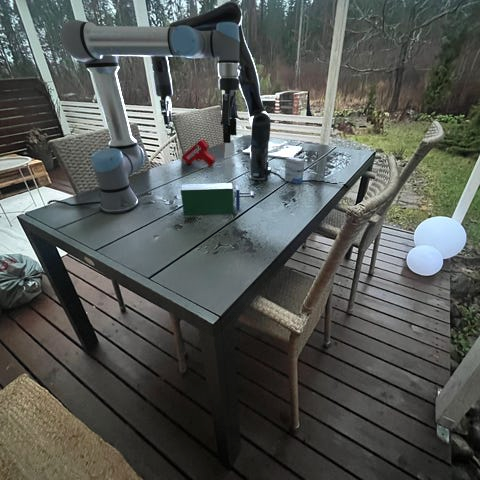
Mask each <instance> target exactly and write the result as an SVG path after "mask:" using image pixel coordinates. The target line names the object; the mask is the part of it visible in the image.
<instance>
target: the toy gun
mask: <svg viewBox="0 0 480 480" xmlns="http://www.w3.org/2000/svg"><path fill="white" fill-rule="evenodd" d="M209 148H210V145H209V144H208V142H207V141H206V140H205V139H204V138H202V139H200V140H198V141H197V142H196V143H195V144H194V145H193V146H192V147H190V149H188V150H187V151H186V152H185V153H184V154H183V155H181V158H182V159H183V161H184V162H185V164H186V165H189V164H191V163H193V162H194V161H195V160H196V162H200V161H204V162H205V163H206V164H207V165H208V167H210V166H212V165H214V164H215V163H216V162H215V161H216V158H215V156H213V155H212V154H210V153H209V152H208V149H209Z"/></svg>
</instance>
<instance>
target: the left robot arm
mask: <svg viewBox="0 0 480 480" xmlns="http://www.w3.org/2000/svg"><path fill="white" fill-rule="evenodd" d="M60 41H61V44H62V47H63V48H64V49H65V51H66V52H67V54H69V55H70V56H71V57H72V58H73V59H75V60H77V61H79V62H83V63H84V65H85V68H86V70H87V71H88V72H89V73H91V75H92V77H93V81H94V84H95V88H96V91H97V95H98V98H99V102H100V106H101V108H102V112H103V116H104V119H105V124H106V126H107V130H108V133H109V137H110V141H109V142H108V148H104V149H100V150H98V151H96V152H94V153H93V154H92V156H91V164H92V168H93V169H92V170H93V171H94V174H95V177H96V180H97V183H98V187H99V190H100V200H99V201H89V202H80V203H69V202H68V201H63V200H58V199H51V200H49V201H47V203H46V204H47V205H50V204H51V203H59V204H65V205H67V206H69V207H79V206H86V205H87V206H88V205H96V204H97V205H99V204H100V209H101V211H102V212H103V213H106V214H111V215H113V214H114V215H117V214H122V213H126V212H130V211H132V210H134V209H136V208H137V207H138V205H139V200H138V197H137V196H136V194H135V193H134V190H132V188H131V185H130V181H129V180H130V179H129V176H131V175H133V174H134V173H135V172H137V171H139V170H140V169H141V168H142V167H143V166H144V164H145V162H146V155H145V152H144V150H143V148H142V147H141V146H140V145H139V144H138V141H137V139H135V138H134V137H133V135H132V131H131V127H130V123H129V119H128V116H127V111H126V106H125V102H124V98H123V95H122V90H121V85H120V82H119V78H118V71H119V69H120V65H119V61H118V60H119V58H120V57H123V56H124V57H151V56H166V57H175V58H188V59H209V58H210V59H211V58H213V59H215V58H217V73H218V75H217V76H218V77H219V78H218V89H219V90H220V91H224V93H223V94H222V96H221V97H222V103H221V120H220V125H221V126H222V141H223V142H222V143H223V144H231V143H232V139H231V138H232V137H231V136H237V119H239V115H238V109H237V108H238V107H237V95H236V94H237V93H236V91H238V90H239V91H240V86H239V78H237V76H239V70H240V69H241V67H240V66H239V41H240V40H239V27H238V25H237V24H236V23H231V22H223V23H218V24H217V28H216V31H199V30H196V29H193V28H192V27H190V26H186V25H181V26H178V27H163V26H143V25H142V26H141V25H139V26H136V25H135V26H134V25H133V26H131V25H128V26H125V25H124V26H123V25H122V26H121V25H119V26H115V25H114V26H113V25H106V26H105V25H102V24H99V23H96V22H92V21H84V20H80V19H70V20H68V21H66V22H65V23H64V24H62V26H61V28H60Z"/></svg>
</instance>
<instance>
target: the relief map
mask: <svg viewBox="0 0 480 480" xmlns="http://www.w3.org/2000/svg"><path fill="white" fill-rule="evenodd" d="M302 147H303V146H294V145H292V144H290V143H289V142H288V141H284V142H282V143H280V144H279V143H278V142H276V141H273V140H272V139H271V138H270V139H269V145H268V157H271V158H277V159H285V160H286V159H287V158H289V157H296V156H297V155H298V154H299V153H300V152H302V151H303V150H304V148H303V149H302ZM250 148H251V145H250V146H249V147H248V148H247V149H245V150H242V153H243V154H247V155H248V154H249V155H250ZM296 153H297V154H296Z"/></svg>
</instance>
